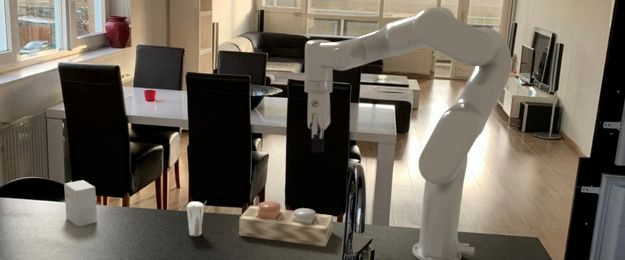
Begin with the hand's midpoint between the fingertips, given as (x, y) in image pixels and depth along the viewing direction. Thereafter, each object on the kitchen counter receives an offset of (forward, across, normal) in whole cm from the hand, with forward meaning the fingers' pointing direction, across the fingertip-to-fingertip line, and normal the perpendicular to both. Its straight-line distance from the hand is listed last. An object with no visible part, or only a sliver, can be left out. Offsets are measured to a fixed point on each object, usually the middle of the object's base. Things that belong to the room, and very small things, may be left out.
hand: (317, 151), depth 170 cm
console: (+22, -7, +7) cm, 24 cm away
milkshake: (+22, -14, +31) cm, 40 cm away
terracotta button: (+20, -7, +12) cm, 24 cm away
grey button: (+21, -7, +2) cm, 22 cm away
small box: (+20, -14, +65) cm, 69 cm away
